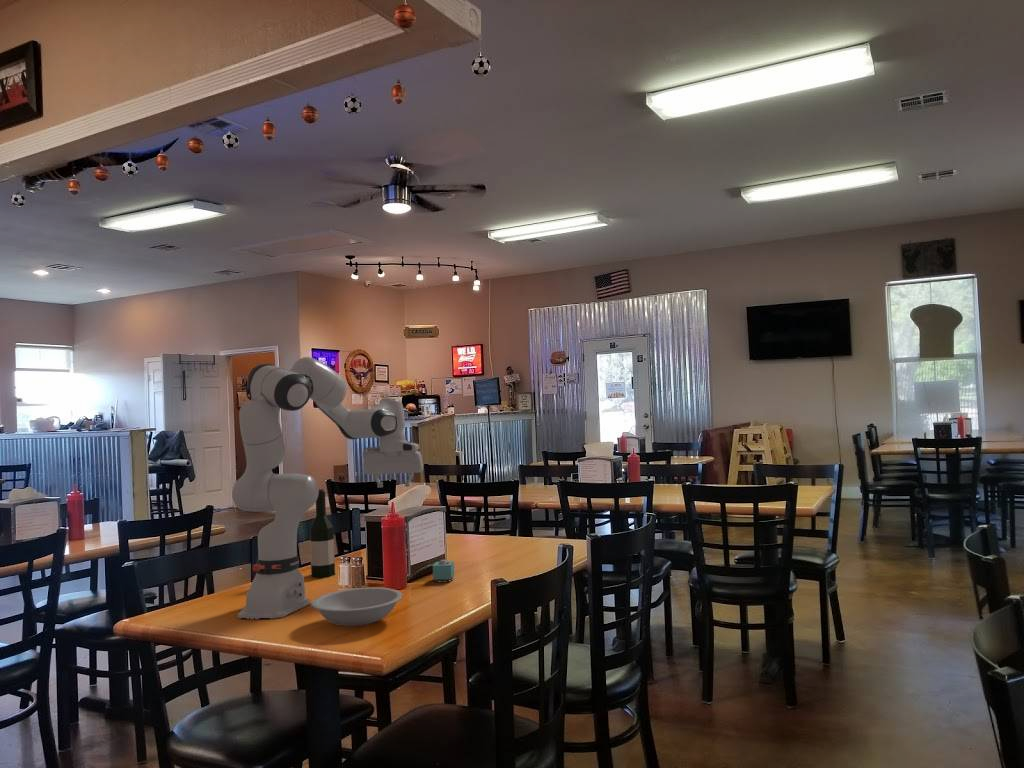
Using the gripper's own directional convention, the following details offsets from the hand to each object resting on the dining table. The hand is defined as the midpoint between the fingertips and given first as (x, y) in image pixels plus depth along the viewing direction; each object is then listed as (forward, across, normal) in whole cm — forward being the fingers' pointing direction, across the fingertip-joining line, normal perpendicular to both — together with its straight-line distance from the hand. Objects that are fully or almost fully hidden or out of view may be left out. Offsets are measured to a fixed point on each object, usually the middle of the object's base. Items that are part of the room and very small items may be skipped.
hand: (393, 487), depth 255 cm
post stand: (+31, +17, -5) cm, 35 cm away
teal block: (+30, +17, -5) cm, 34 cm away
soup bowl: (+31, +2, -52) cm, 61 cm away
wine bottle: (+31, -28, +7) cm, 42 cm away
